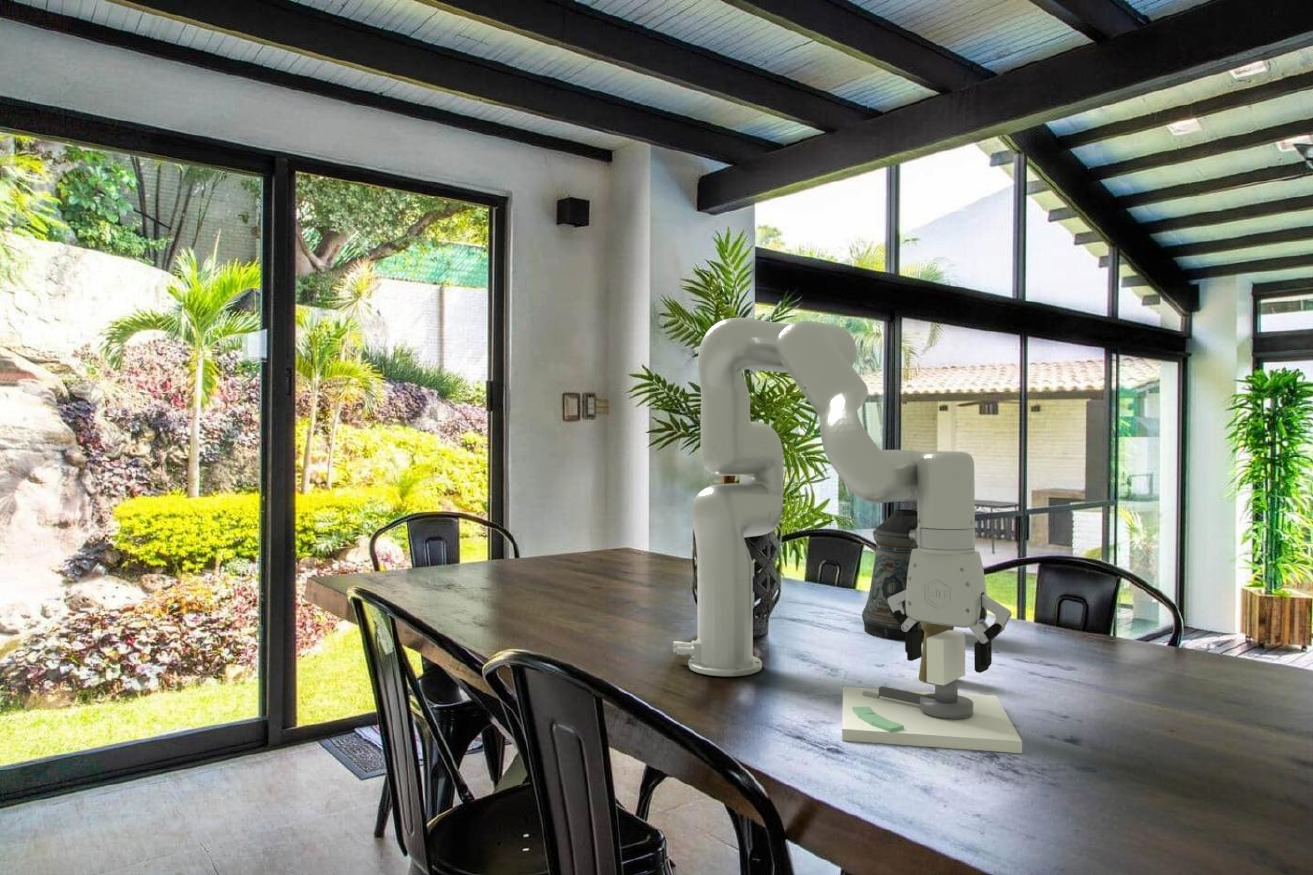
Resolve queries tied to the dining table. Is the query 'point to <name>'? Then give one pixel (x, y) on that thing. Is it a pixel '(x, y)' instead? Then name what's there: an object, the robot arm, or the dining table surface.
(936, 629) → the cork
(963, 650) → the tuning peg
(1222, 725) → the dining table surface
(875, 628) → the beer stein
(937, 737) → the dial board
